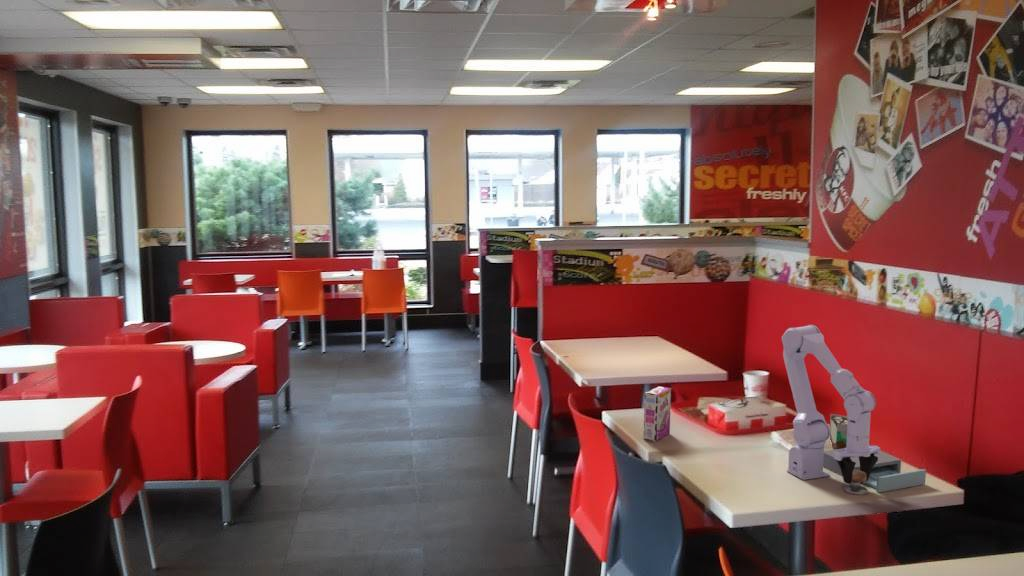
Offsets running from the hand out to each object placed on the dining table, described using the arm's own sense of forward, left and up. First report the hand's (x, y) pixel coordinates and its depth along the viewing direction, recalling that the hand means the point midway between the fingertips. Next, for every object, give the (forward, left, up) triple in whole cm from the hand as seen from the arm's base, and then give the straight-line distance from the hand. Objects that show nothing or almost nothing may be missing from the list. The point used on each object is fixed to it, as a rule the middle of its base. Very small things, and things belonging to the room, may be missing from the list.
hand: (855, 481), depth 224 cm
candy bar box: (-28, +61, -3) cm, 67 cm away
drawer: (+13, +3, -2) cm, 14 cm away
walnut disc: (0, 0, +1) cm, 1 cm away
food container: (+21, +28, -3) cm, 35 cm away
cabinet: (+13, +12, -3) cm, 18 cm away
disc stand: (0, 0, -3) cm, 3 cm away
